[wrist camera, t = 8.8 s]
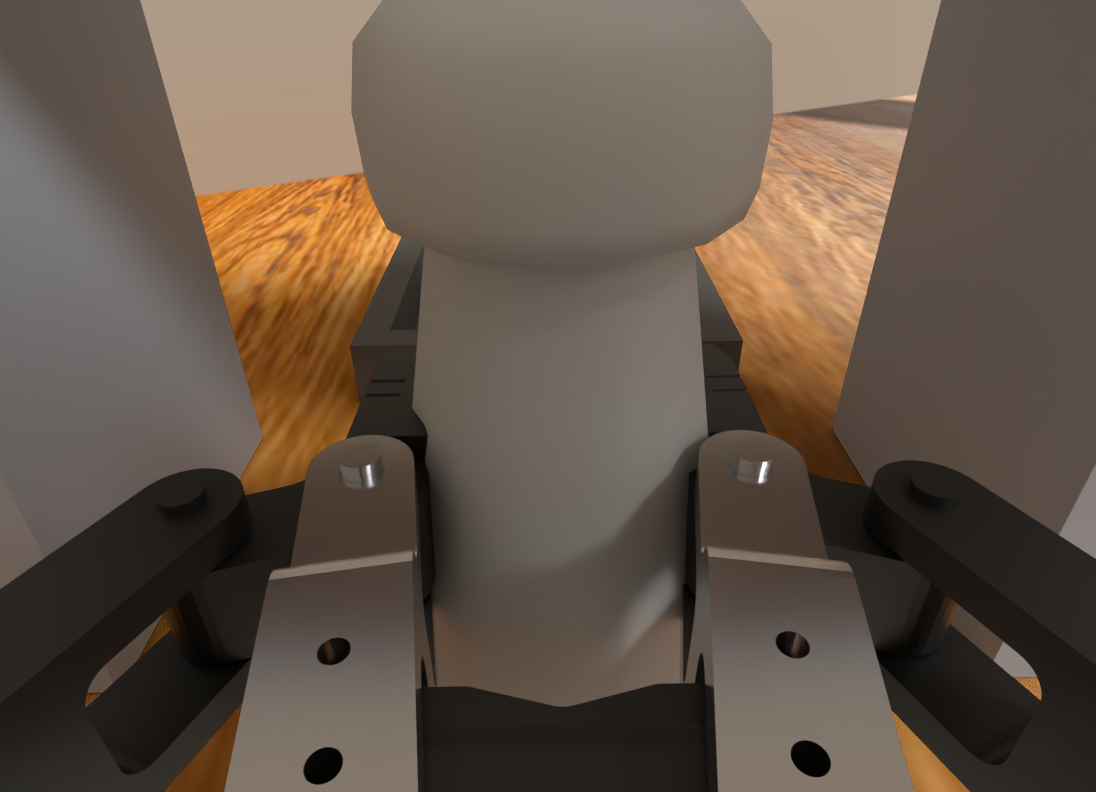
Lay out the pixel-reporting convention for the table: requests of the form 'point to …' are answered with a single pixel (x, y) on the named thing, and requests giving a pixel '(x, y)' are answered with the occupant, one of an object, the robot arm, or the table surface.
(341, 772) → the robot arm
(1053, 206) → the gate
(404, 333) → the pit box
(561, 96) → the salt shaker
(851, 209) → the table surface
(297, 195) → the table surface
